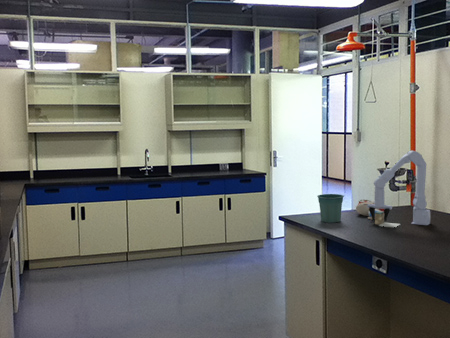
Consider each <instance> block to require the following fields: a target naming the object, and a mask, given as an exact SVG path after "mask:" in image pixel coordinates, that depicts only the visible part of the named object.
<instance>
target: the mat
mask: <svg viewBox="0 0 450 338" xmlns="http://www.w3.org/2000/svg"><path fill="white" fill-rule="evenodd" d="M378 226H379V227H383V226H384V227H385V228H394V227H395V228H397V226H398V227H399V226H401V223H396V222H395V223H394V222H393V223H392V222H384V223H382V224H378Z"/></svg>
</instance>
